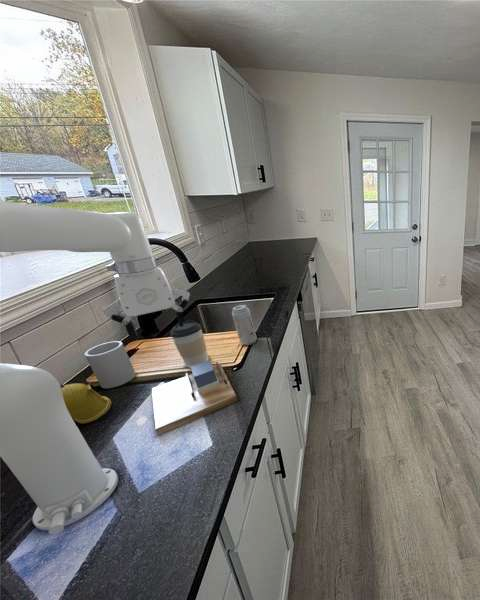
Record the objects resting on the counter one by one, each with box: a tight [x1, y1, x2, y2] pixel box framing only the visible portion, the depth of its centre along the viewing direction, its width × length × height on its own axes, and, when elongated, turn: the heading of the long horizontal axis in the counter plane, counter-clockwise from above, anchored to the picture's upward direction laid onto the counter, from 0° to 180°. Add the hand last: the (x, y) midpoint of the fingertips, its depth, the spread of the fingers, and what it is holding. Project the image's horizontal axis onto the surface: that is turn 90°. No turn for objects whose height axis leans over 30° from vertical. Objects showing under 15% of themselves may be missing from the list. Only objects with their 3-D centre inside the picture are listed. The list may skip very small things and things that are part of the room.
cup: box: [84, 340, 137, 389], centre depth 102 cm, size 9×9×12 cm
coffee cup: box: [169, 319, 210, 369], centre depth 108 cm, size 9×9×15 cm
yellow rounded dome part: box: [59, 382, 112, 425], centre depth 84 cm, size 12×8×15 cm
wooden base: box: [151, 361, 238, 436], centre depth 92 cm, size 22×19×4 cm
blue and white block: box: [190, 359, 220, 393], centre depth 96 cm, size 11×6×5 cm, turn 39°
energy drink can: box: [231, 304, 258, 346], centre depth 120 cm, size 6×6×15 cm
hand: (159, 330), depth 80 cm, fingers open, 9 cm apart
